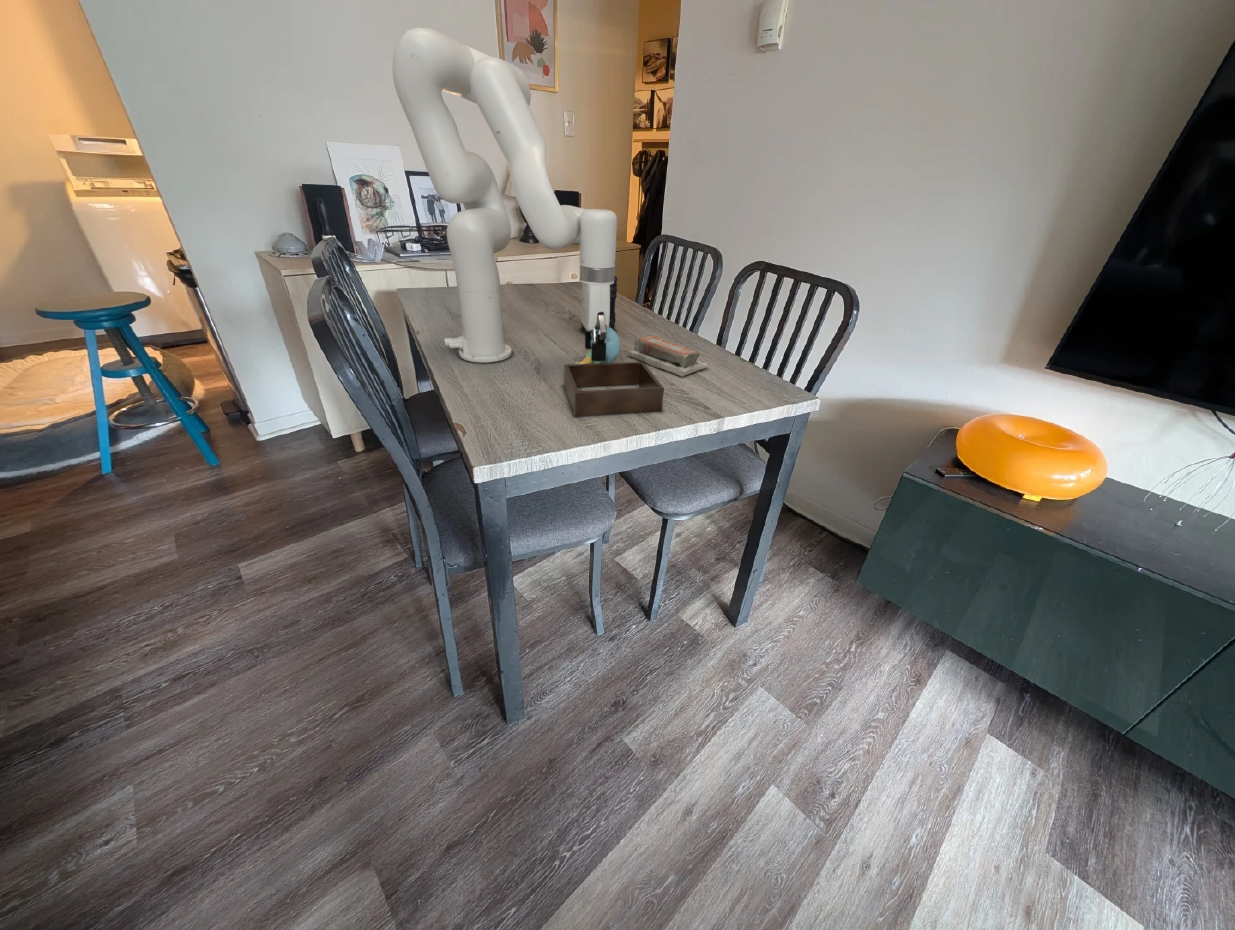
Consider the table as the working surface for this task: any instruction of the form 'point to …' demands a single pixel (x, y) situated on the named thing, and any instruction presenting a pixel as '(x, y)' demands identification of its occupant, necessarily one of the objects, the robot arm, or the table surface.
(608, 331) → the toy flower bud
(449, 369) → the table surface
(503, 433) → the table surface
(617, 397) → the crate
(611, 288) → the storage jar
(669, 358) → the packaged product
